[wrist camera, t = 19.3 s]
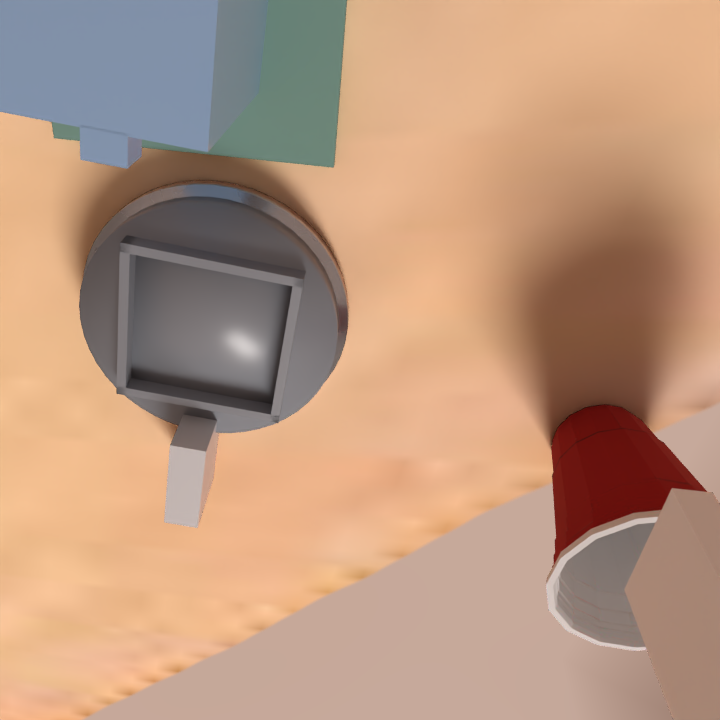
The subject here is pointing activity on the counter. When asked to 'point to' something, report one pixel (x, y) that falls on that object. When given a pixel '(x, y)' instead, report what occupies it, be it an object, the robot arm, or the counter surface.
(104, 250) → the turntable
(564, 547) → the plastic cup
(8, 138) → the counter surface
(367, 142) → the counter surface
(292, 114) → the plate
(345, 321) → the turntable base
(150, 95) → the blue block
